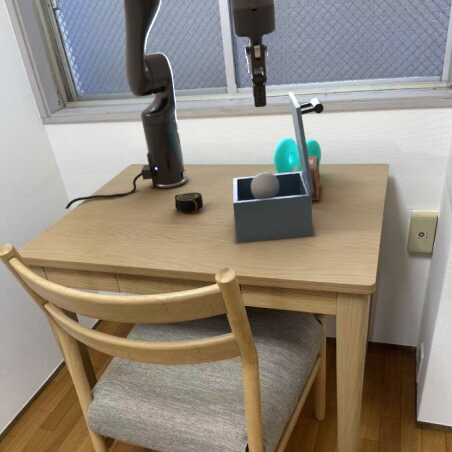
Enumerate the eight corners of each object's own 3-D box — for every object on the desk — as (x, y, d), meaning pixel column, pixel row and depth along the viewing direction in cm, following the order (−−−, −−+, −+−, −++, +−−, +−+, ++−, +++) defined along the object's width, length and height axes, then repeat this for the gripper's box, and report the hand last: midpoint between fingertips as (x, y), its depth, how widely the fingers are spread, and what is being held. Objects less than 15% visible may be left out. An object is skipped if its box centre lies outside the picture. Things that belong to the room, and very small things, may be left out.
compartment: (237, 242, 101) (233, 203, 96) (237, 214, 113) (233, 178, 108) (312, 235, 99) (312, 195, 95) (303, 208, 112) (303, 171, 107)
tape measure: (203, 203, 121) (201, 189, 119) (204, 213, 115) (202, 199, 113) (176, 206, 121) (174, 192, 119) (176, 217, 115) (173, 203, 113)
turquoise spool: (290, 168, 136) (289, 132, 130) (322, 171, 131) (322, 134, 125) (272, 180, 130) (270, 143, 124) (305, 184, 124) (305, 146, 119)
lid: (296, 108, 85) (325, 100, 85) (288, 92, 98) (314, 85, 97) (309, 193, 94) (337, 187, 94) (301, 169, 107) (325, 163, 106)
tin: (317, 205, 112) (317, 171, 107) (304, 206, 113) (303, 171, 108) (320, 182, 124) (320, 150, 119) (307, 183, 125) (307, 151, 120)
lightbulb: (283, 215, 107) (281, 168, 101) (277, 227, 102) (274, 178, 96) (257, 214, 109) (254, 167, 103) (250, 226, 104) (246, 177, 98)
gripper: (231, 5, 89) (239, 96, 98) (231, 8, 77) (240, 112, 86) (271, -1, 89) (276, 92, 98) (277, 2, 77) (282, 107, 86)
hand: (259, 101), depth 92 cm, fingers open, 8 cm apart
